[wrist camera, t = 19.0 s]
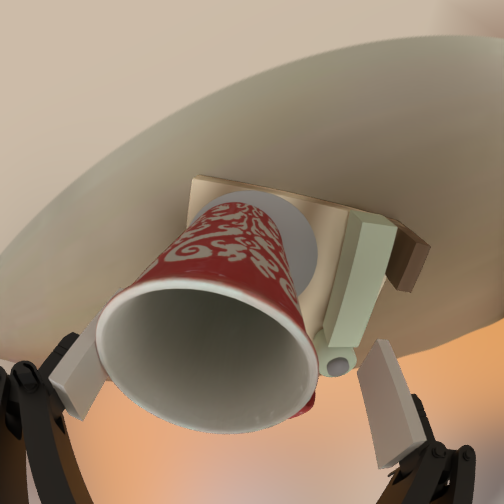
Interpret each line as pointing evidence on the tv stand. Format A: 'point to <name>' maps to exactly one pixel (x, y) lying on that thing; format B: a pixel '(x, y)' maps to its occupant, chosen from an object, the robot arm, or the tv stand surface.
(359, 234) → the leg
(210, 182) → the board
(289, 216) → the seat pad
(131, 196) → the tv stand surface
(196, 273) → the mug
